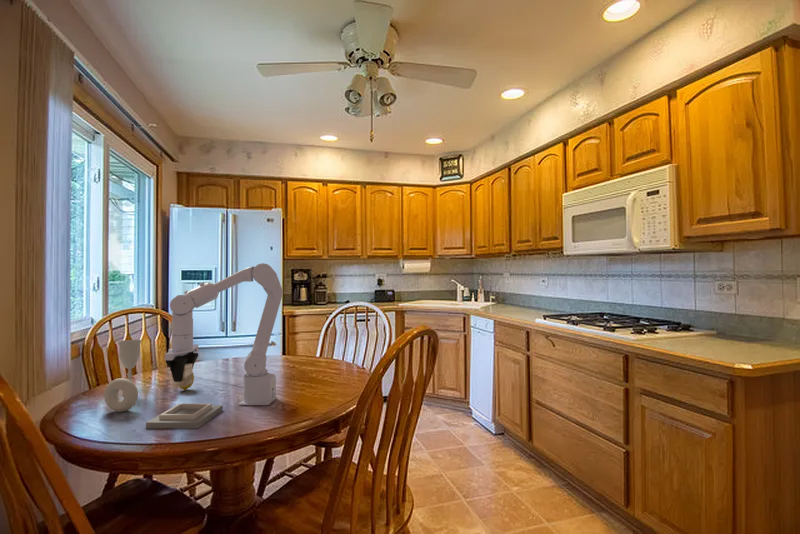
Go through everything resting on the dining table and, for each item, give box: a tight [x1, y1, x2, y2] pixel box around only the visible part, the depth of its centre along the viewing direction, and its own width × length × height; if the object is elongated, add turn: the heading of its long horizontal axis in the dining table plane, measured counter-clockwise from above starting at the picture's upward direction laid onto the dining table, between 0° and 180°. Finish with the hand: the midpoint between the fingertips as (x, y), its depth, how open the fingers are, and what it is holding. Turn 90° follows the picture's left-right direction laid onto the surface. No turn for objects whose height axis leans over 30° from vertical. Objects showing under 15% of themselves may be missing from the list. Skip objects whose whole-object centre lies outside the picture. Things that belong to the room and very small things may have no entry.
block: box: [171, 363, 193, 388], centre depth 121 cm, size 4×4×6 cm
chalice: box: [117, 339, 143, 397], centre depth 137 cm, size 7×7×18 cm
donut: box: [103, 377, 139, 413], centre depth 119 cm, size 10×4×10 cm, turn 84°
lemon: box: [178, 371, 195, 391], centre depth 141 cm, size 6×6×8 cm
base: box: [145, 403, 223, 429], centre depth 113 cm, size 14×14×3 cm
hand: (182, 379), depth 121 cm, fingers closed on block, 4 cm apart
